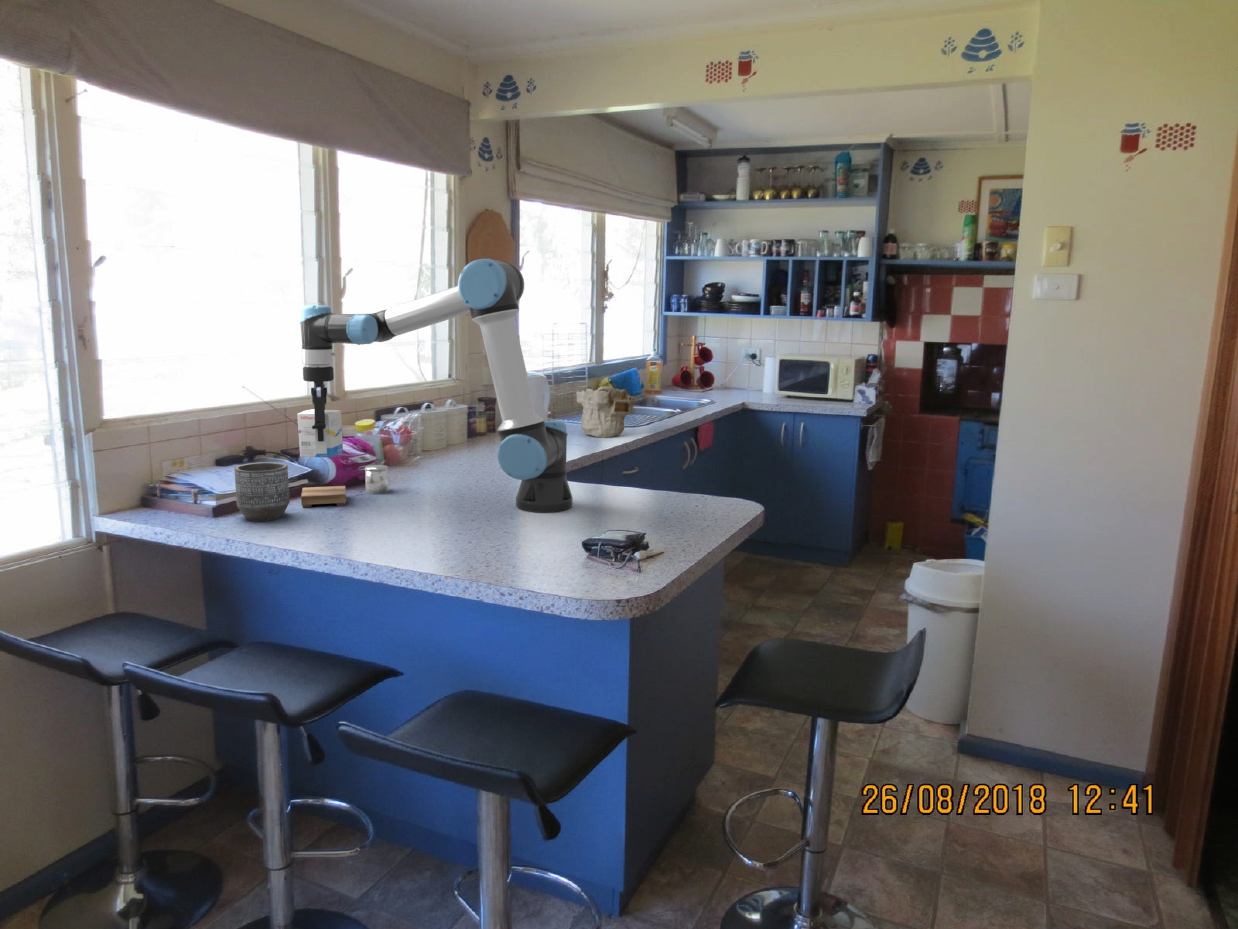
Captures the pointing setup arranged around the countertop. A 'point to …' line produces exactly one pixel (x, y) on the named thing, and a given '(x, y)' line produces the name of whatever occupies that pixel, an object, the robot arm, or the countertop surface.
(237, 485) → the planter
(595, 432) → the ceramic vessel
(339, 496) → the riser
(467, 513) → the countertop surface
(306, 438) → the ink box
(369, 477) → the tin
